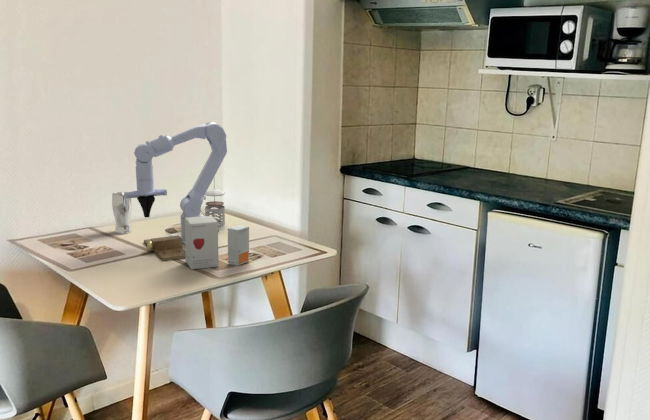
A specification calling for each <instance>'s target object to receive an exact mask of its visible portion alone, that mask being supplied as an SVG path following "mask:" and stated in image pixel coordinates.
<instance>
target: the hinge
mask: <svg viewBox="0 0 650 420" xmlns="http://www.w3.org/2000/svg"><path fill="white" fill-rule="evenodd" d="M147 241H152V243H154V248H153V251H152V252H153V253H154V254H155V255H156V256H157V257H158V258H159V259H161V260H162V261H163V262H167V261H171V260H172V261H173V259H174V260H179V259H186V249H184V248H183V243H182V238H181V235H178V234H177V235H172V236H171V235H169V236H161V237H155V238H154V237H153V238H149V239H143V244H145V246H147ZM166 260H167V261H166Z"/></svg>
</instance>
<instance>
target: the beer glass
mask: <svg viewBox="0 0 650 420" xmlns="http://www.w3.org/2000/svg"><path fill="white" fill-rule="evenodd" d="M125 192H126V191H115V192H113V193H111V203H112V204H111V207H112V212H113V216H114V217H113V218H114V221H115V222H114V223H115V229H114V233H115V234H118V235H124V234H130V233H132V232H133V231H132V224H131V216H132V206H133V205H132V198H128V199H125V198H124V193H125Z"/></svg>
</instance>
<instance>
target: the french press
mask: <svg viewBox="0 0 650 420" xmlns="http://www.w3.org/2000/svg"><path fill="white" fill-rule="evenodd" d="M215 182H216V181H213V189H207V191H206V193H205V195H204V199H203V201H206V200H207V197H213V198H214V200H212V201H211V200H210V201H206V202H205V205H206V206H205V208H204V211H202V210H201V212H200V215H202V216H212V217H213V218H214V219H215V220H216V221H217V222H218V231H219V230H224V229H228V225H227V224H226V221H225V219H226V216H225V215H226V212H225V206H224V204H225V203H224V202H223V201H219V200H218V201H216V197H221V196H224V195H225V192H224V191H223V190H221V189H217V188H215ZM206 196H207V197H206Z"/></svg>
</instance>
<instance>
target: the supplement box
mask: <svg viewBox="0 0 650 420" xmlns="http://www.w3.org/2000/svg"><path fill="white" fill-rule="evenodd" d="M214 218H215V217H214ZM214 218H213V217H212V215H210V216H204V215H201V217H187V218H185V244H184V245H185V251H186V258H185V262H186V263H187V265H188V267H189V268H190V270H199V269H208V268H217V267H218V268H219V266H220V265H219V230H218V222H217V221H216V220H215V219H214Z"/></svg>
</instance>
